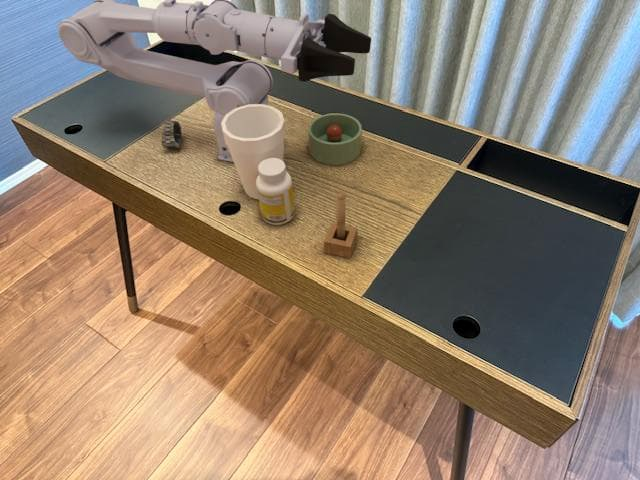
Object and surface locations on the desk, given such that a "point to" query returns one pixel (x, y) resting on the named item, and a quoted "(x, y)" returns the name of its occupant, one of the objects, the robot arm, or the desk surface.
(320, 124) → the bowl
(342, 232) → the stick
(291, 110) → the desk surface
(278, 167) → the supplement bottle
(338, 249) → the stand
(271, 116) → the foam cup
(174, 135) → the wristwatch
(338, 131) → the bead
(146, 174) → the desk surface
